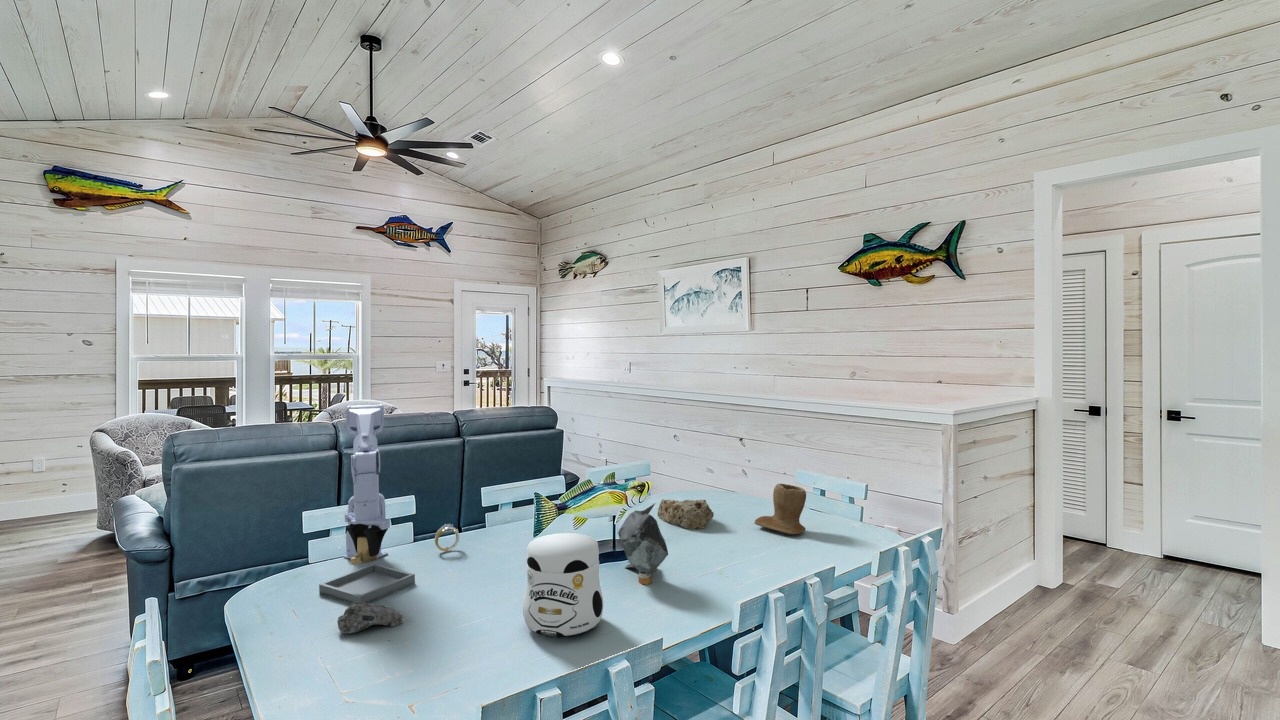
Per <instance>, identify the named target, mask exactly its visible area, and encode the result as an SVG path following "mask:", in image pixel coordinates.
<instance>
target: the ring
mask: <svg viewBox="0 0 1280 720" xmlns="http://www.w3.org/2000/svg"><path fill="white" fill-rule="evenodd" d="M448 530H450V531H453V532H454V534H455V541H454V543H453V544H452V545H450V547H449V546H447V547H445V548H443V547H441V546H440V545H439V539H440V537H441V536H442V534H444V533H445V532H446V531H448ZM459 541H460V533H459V531H458V529H457V528H456V527H454V524H452V523H447V524H446V523H444V525H441V527H440V528H439V529H437V531H436V533H435V536H434V544H435V546H436V547H437V549H438V550H439V551H442V552H450V551H451V550H454V549H455V547H456V546H458V543H459Z"/></svg>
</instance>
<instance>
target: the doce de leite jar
mask: <svg viewBox="0 0 1280 720" xmlns="http://www.w3.org/2000/svg"><path fill="white" fill-rule="evenodd" d="M598 543H599V542H598V541H597V540H596V539H595V538H594V537H592V536H590V535H588V534H587V535H586V534H583V533H575V532H574V533H573V532H560V533H552V534H551V533H550V534H547V535H546V534H545V535H543V536H539V537H536V538H534V539H533V540H531V541H530V542H529V543H528V545H527V548H526V556H525V557H526V558H525V559H526V560H525V561H526V588H525V589H526V590H525V593H524V597H523V600H522V612H523V613H522V614H523V619H524V623H525V624H526V627H527V628H528V629H529V630H530V631H532V632H533V633H535V634H536V635H538V636H542V637H544V638H545V637H546V638H549V639H550V638H553V639H563V638H566V639H567V638H574V637H578V636H581V635H585V634H587V633H588V632H590V631H592V630H593V629H594V628H596V626H597V625H599V623H600V621H601V619H602V617H603V611H604V596H603V592H602V589H601V585H600V560H599V558H600V557H599V555H600V553H599V552H600V551H599V544H598Z"/></svg>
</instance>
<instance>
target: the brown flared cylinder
mask: <svg viewBox="0 0 1280 720" xmlns="http://www.w3.org/2000/svg"><path fill="white" fill-rule="evenodd" d="M772 499H773V500H772V501H773V507H774V514H773V515H772V516H771V515H770V516H769V515H763V516H758V518H756V519H755V520H754V522H753V524H755V525H757V526H759V527H762V528H766V529H769V530H771V531H774V532H775V531H776V532H779V533H783V534H787V535H800V534H803V533H805V531H806V527H805V526H804V525H802V523H801V522H800V518H801V515H802V512H803V510H804V507H805V505H806V504H805V503H806V501H807V500H806V499H807V492H806V490H805V489H804V488H803V487H800V486H796V485H791V484H786V483H777V484H776V485H775V486H774V489H773V494H772Z"/></svg>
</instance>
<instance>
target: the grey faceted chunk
mask: <svg viewBox="0 0 1280 720" xmlns="http://www.w3.org/2000/svg"><path fill="white" fill-rule="evenodd" d="M655 505H656V503H653V504H651V505H650V506H648V507H647V508H645V509H644V510H634V511H633V512H630V513H629V514H628V516H627V517H626V518H625V520H624V521H623V523H622V525H621V526H620V528H619V530H618V532H617V533H618V539H619V542H620V546H621V548H622V549H623V551H624V554H625V557H626V559H627V561H628V564H627V565H626V566H625V567H624V569H627V570H629V569H630V570H636V571H638V574H639V575H638V584H641V585H646V586H647V585H651V584H652V583H653V576H652V575H653V573H654V572H656V570H657V569H658V567H660V566H661V564H662V563H663V562H664V561H665V560H666V558H667V557H668V555H669V551H668V547H667V544H666V540H665V537H664V536H663V535H662V533H661V530H660V528H659V524H658V521H657V520H656V518H654V516H653V515H652V514H650V512H651V511H652V509H653V508H654V506H655Z"/></svg>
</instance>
